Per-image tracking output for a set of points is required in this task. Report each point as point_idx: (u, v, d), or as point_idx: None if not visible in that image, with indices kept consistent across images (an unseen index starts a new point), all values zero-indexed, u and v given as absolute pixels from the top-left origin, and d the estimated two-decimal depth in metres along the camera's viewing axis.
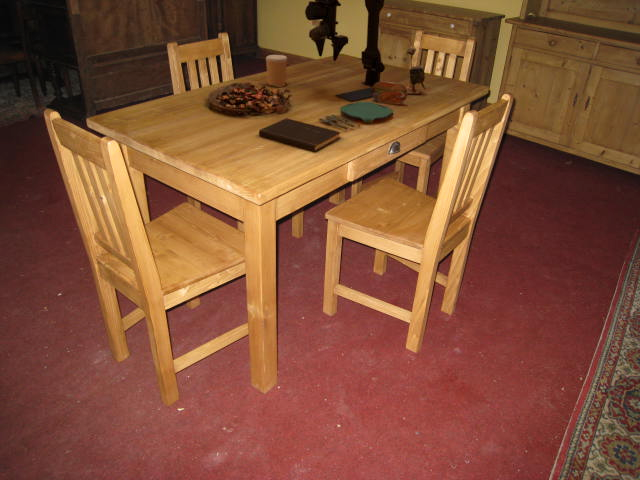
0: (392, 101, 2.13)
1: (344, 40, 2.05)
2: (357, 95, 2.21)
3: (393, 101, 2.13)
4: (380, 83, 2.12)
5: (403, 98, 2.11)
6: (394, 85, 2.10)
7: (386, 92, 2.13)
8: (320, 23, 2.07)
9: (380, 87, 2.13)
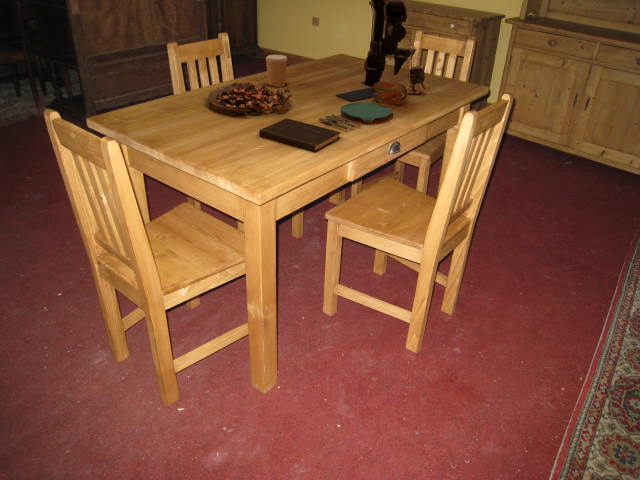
0: (392, 101, 2.13)
1: (373, 57, 2.00)
2: (357, 95, 2.21)
3: (393, 101, 2.13)
4: (380, 83, 2.12)
5: (403, 98, 2.11)
6: (394, 85, 2.10)
7: (386, 92, 2.13)
8: None
9: (380, 87, 2.13)
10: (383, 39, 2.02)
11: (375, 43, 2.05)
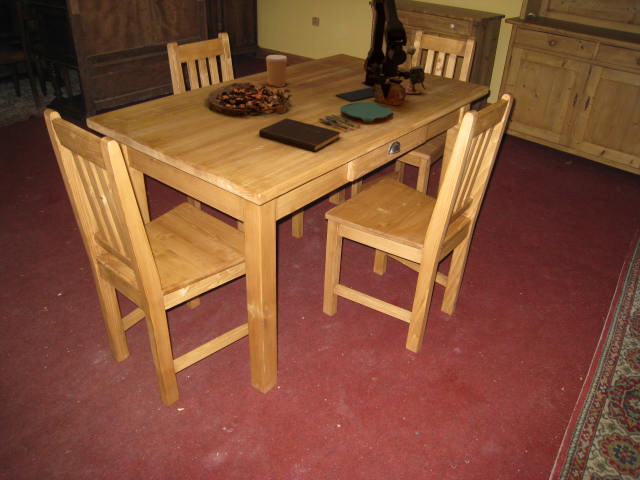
0: (391, 101, 2.13)
1: (374, 79, 2.04)
2: (357, 95, 2.21)
3: (392, 101, 2.12)
4: None
5: (401, 99, 2.09)
6: (393, 86, 2.09)
7: None
8: None
9: (380, 87, 2.13)
10: (383, 62, 2.06)
11: (376, 66, 2.09)
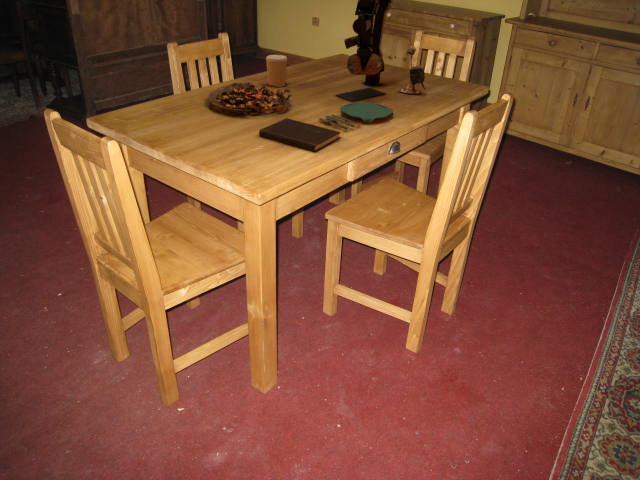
0: (368, 72, 2.17)
1: (365, 52, 2.05)
2: (357, 95, 2.21)
3: (369, 72, 2.17)
4: (355, 56, 2.13)
5: (379, 67, 2.17)
6: None
7: None
8: None
9: (355, 60, 2.14)
10: (360, 34, 2.08)
11: (352, 39, 2.08)
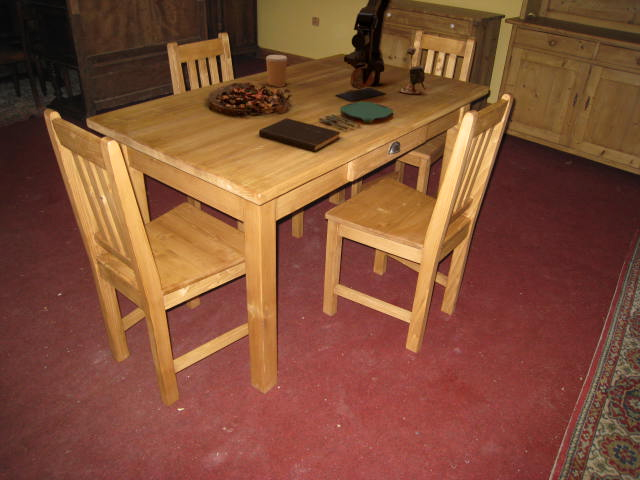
0: (366, 84, 2.22)
1: (380, 66, 2.10)
2: (357, 95, 2.21)
3: (367, 83, 2.22)
4: (359, 71, 2.14)
5: (373, 77, 2.24)
6: None
7: None
8: (356, 49, 2.12)
9: (359, 75, 2.15)
10: (365, 49, 2.10)
11: None
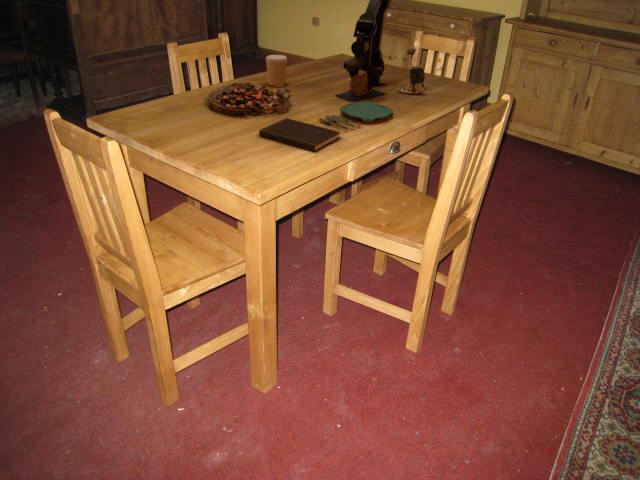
0: (366, 90, 2.23)
1: (379, 72, 2.11)
2: None
3: (366, 90, 2.24)
4: (358, 78, 2.16)
5: None
6: (366, 75, 2.20)
7: (362, 84, 2.20)
8: (355, 55, 2.13)
9: (357, 81, 2.17)
10: (364, 56, 2.11)
11: None
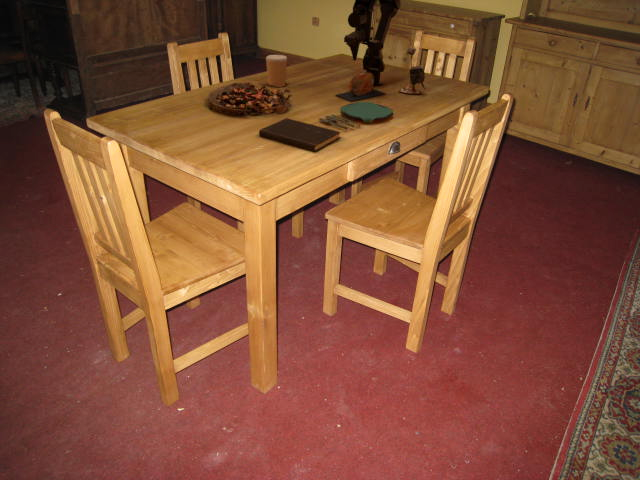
0: (366, 90, 2.23)
1: (380, 45, 2.13)
2: None
3: (366, 90, 2.24)
4: (358, 78, 2.16)
5: (372, 84, 2.25)
6: (366, 75, 2.20)
7: (362, 84, 2.20)
8: (356, 29, 2.15)
9: (357, 81, 2.17)
10: (365, 29, 2.13)
11: None
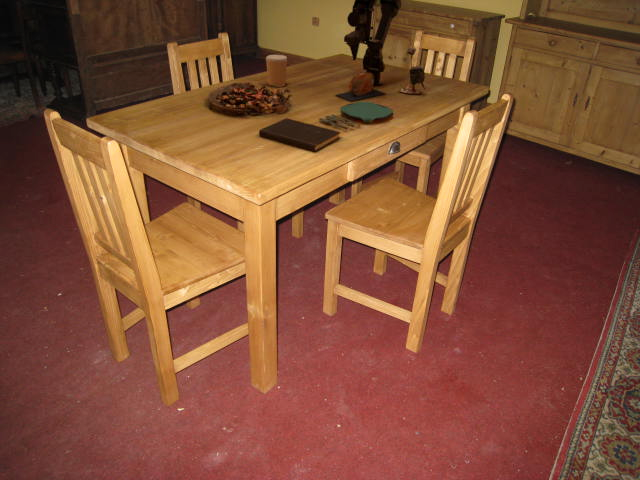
0: (366, 90, 2.23)
1: (379, 45, 2.13)
2: None
3: (366, 90, 2.24)
4: (358, 78, 2.16)
5: (372, 84, 2.25)
6: (366, 75, 2.20)
7: (362, 84, 2.20)
8: (356, 28, 2.15)
9: (357, 81, 2.17)
10: (365, 28, 2.13)
11: None
